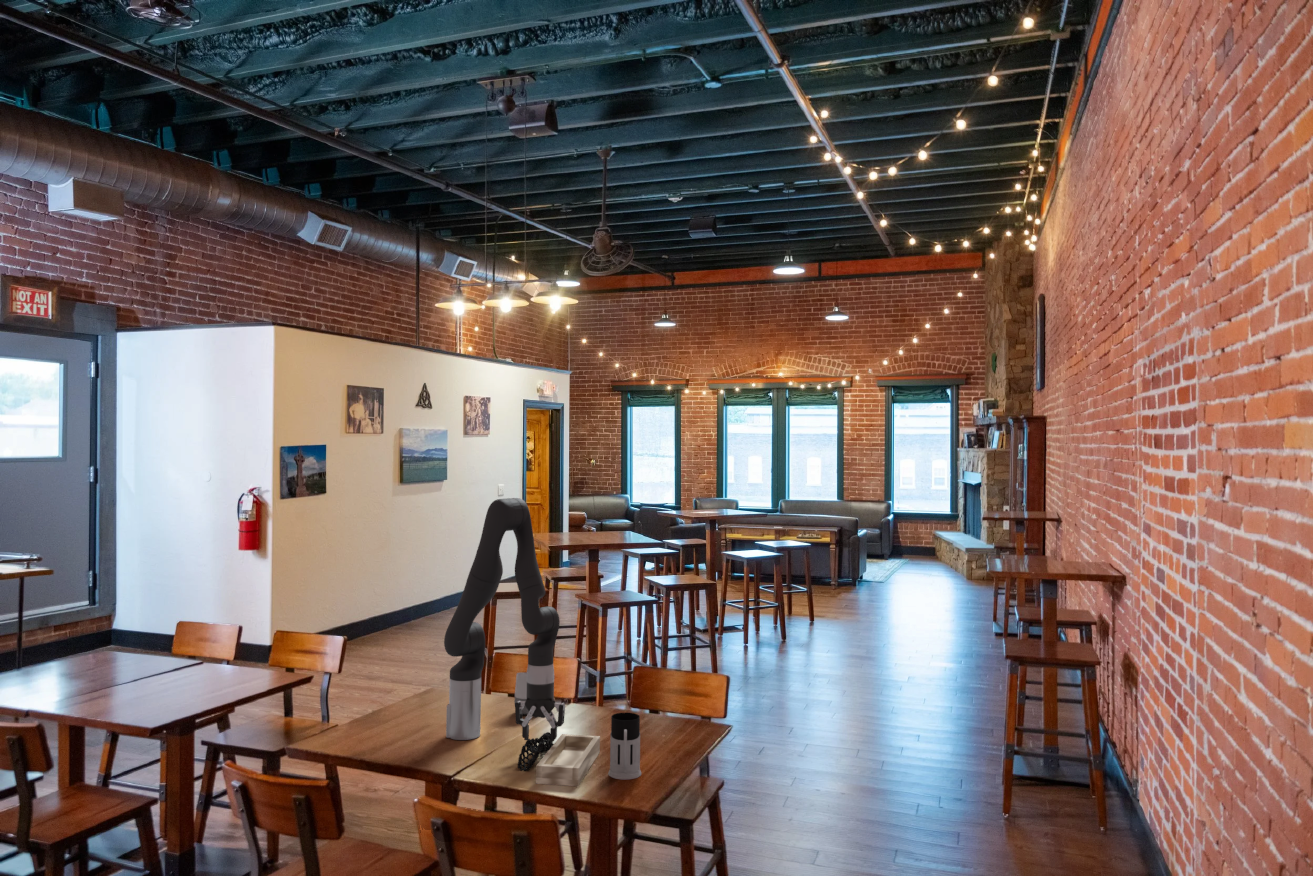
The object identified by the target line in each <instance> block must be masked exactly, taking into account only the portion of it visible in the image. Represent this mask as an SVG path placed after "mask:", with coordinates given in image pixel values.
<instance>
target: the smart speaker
mask: <svg viewBox="0 0 1313 876" xmlns="http://www.w3.org/2000/svg"><path fill="white" fill-rule="evenodd" d="M526 699H527V671H526V672H516V678H515V689H514V704H515V703H516V702H517V701H518V700H521V701H526ZM528 713H529V711H528V710H527V708H526V707H525V706H524V708H523V709H522V716H526V715H527V714H528Z"/></svg>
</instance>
